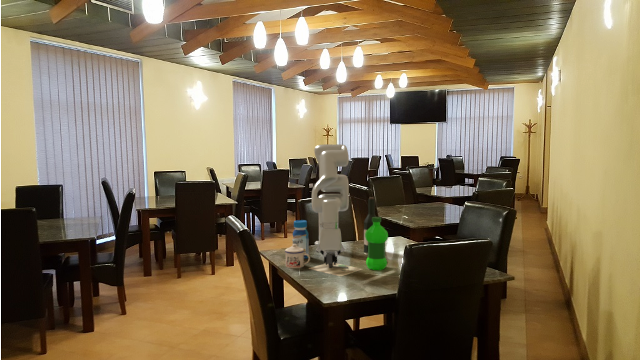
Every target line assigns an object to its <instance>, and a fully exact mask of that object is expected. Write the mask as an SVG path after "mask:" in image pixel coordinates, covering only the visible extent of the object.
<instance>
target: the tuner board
mask: <svg viewBox="0 0 640 360" xmlns="http://www.w3.org/2000/svg"><path fill="white" fill-rule="evenodd" d="M333 266H340V267H349V268H336V267H333V268H329V264H327V265H326V263H322V264H319V265H315V266H312V267H308V268H307V269H309V270H313V271H317V272H320V273H325V274H329V275H333V276H337V277H343V276H347V275H350V274H353V273H355V272H358V271H363V268H361V267H356V266H355V267H354V266H351V265H347V264H343V263H342V264H341V263H338V262H337V263H336V265H334V262H333Z"/></svg>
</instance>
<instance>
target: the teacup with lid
mask: <svg viewBox="0 0 640 360" xmlns="http://www.w3.org/2000/svg"><path fill="white" fill-rule="evenodd" d="M284 253H285V267H286V268H288V269H300V268H303V267H304V266H305V265H306V264H308V263H309V262H310V261H311V255H308V254H306V253H304V249H303V248H300V247H298V246H297V245H296V244H293V243H292V245H291V246H290V247H287V248H286V249H285V250H284ZM304 255H307V256H308V258H307V260H306V261H304V260H305V259H304Z"/></svg>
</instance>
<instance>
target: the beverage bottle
mask: <svg viewBox="0 0 640 360" xmlns="http://www.w3.org/2000/svg"><path fill="white" fill-rule="evenodd" d="M307 227H308V221H307V220H305V219H301V220H300V219H298V220H294V221H293V228H294V230H293V232H292V237H291V238H292V239H291V240H292V245H293V244H296V245H297V246H298V247H300V248H303V249H304V253H306V254H308V255H309V250H310V249H309V240H310V239H309V231H308V229H307ZM309 256H310V255H309ZM306 259H308V256H307V255H304V260H306Z"/></svg>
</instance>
